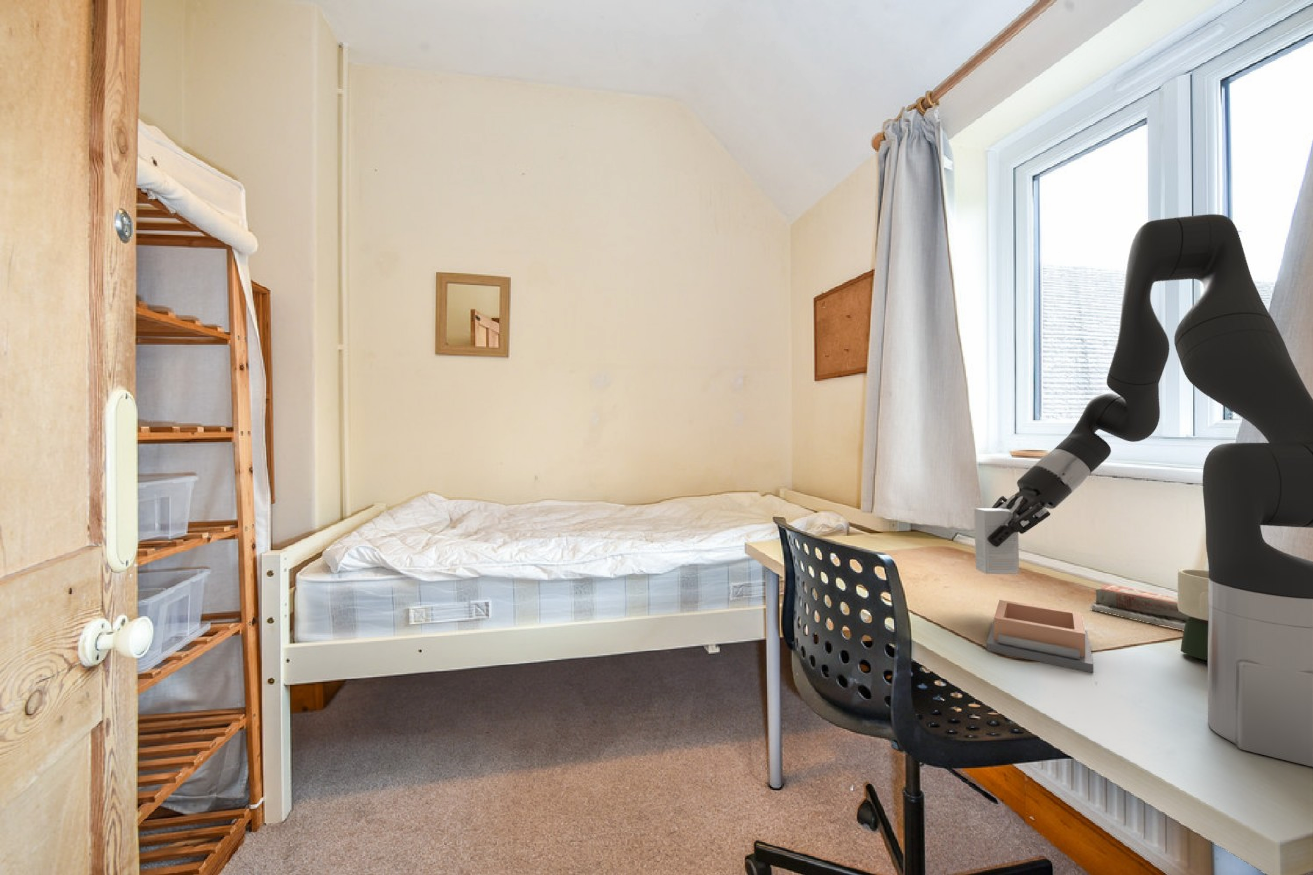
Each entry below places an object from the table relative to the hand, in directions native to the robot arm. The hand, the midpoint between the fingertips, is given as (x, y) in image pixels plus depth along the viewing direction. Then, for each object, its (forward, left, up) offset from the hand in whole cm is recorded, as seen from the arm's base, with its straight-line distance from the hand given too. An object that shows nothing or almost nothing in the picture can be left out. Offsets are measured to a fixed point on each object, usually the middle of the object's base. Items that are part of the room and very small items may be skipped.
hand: (985, 540), depth 101 cm
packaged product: (+15, -26, -14) cm, 33 cm away
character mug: (-5, -29, -14) cm, 33 cm away
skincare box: (+1, -2, -6) cm, 6 cm away
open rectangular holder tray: (-13, -8, -14) cm, 21 cm away
